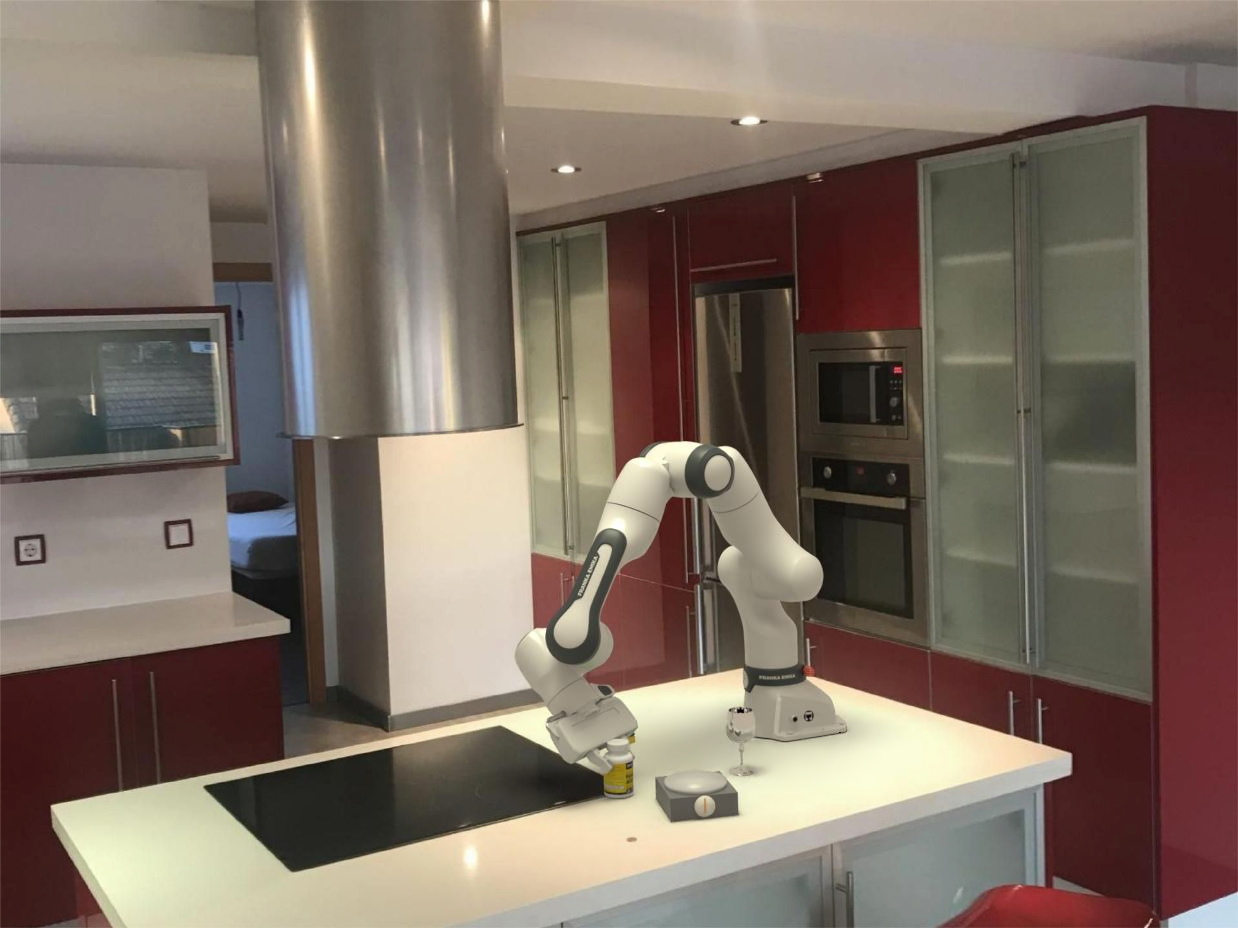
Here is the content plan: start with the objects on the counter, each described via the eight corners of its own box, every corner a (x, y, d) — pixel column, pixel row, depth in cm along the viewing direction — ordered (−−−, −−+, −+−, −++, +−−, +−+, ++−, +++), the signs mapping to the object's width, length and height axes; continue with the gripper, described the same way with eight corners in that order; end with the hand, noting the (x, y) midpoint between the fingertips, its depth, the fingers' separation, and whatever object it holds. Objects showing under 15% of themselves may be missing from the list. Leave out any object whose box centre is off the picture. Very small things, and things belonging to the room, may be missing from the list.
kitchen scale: (720, 792, 236) (719, 766, 235) (739, 815, 223) (738, 788, 223) (655, 798, 233) (655, 772, 233) (671, 822, 221) (670, 795, 221)
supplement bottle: (630, 799, 233) (629, 746, 232) (601, 798, 234) (599, 745, 233) (636, 789, 238) (634, 737, 238) (607, 788, 240) (605, 736, 239)
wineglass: (758, 776, 244) (757, 713, 243) (728, 777, 244) (726, 714, 243) (755, 766, 250) (753, 705, 249) (725, 767, 250) (724, 706, 249)
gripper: (550, 709, 230) (597, 771, 226) (615, 683, 247) (660, 740, 242) (532, 730, 233) (577, 792, 228) (597, 703, 250) (641, 760, 245)
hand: (621, 765), depth 236 cm, fingers closed on supplement bottle, 5 cm apart
